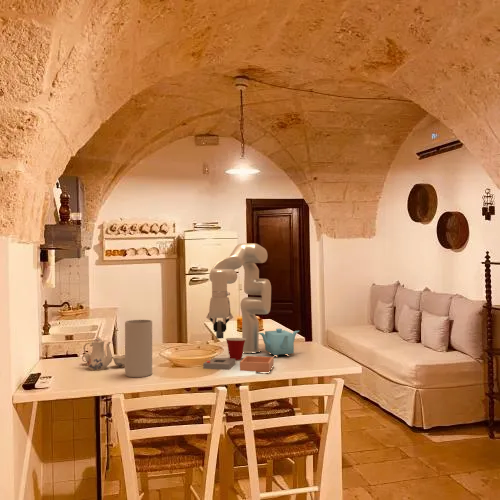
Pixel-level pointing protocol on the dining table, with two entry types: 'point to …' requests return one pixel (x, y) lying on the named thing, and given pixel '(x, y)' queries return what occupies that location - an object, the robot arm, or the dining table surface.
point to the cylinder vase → (138, 348)
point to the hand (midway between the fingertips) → (219, 331)
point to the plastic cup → (235, 347)
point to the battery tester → (219, 363)
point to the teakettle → (279, 341)
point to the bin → (257, 364)
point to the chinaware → (101, 356)
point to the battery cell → (219, 329)
